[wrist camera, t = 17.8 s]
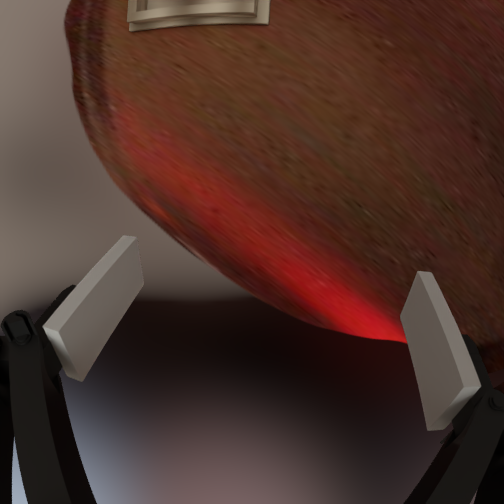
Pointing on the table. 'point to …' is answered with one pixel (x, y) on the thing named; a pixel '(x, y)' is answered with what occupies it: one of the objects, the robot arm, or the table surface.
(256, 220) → the table surface
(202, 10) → the cup tray
